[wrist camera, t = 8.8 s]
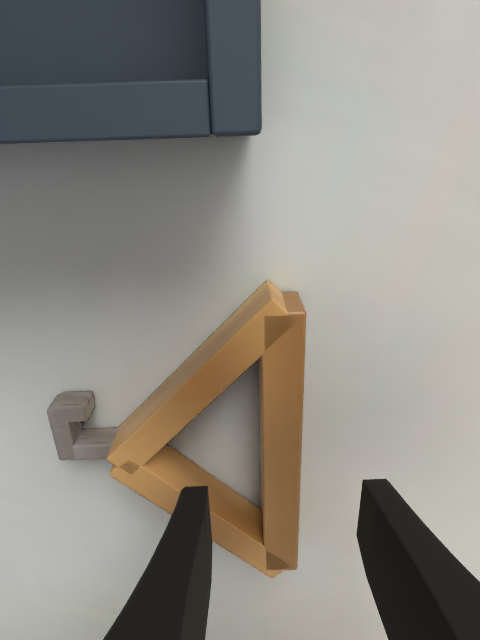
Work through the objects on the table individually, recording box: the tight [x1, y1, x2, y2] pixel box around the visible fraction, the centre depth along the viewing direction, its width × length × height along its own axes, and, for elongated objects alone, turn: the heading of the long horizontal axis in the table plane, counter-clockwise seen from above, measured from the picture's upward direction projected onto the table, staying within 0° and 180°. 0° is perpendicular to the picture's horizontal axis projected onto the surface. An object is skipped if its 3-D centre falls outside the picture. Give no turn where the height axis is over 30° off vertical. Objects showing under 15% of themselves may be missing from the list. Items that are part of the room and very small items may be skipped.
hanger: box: [47, 280, 306, 578], centre depth 14 cm, size 8×11×2 cm
